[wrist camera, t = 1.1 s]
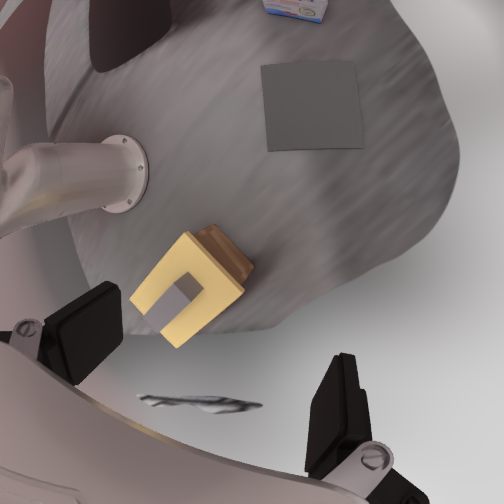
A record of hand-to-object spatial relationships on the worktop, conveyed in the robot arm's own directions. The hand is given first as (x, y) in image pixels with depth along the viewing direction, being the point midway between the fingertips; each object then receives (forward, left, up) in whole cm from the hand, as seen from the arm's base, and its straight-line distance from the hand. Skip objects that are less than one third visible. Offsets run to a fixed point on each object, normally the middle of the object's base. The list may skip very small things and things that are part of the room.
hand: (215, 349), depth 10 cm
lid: (-12, -6, -18) cm, 23 cm away
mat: (+4, +16, -26) cm, 31 cm away
